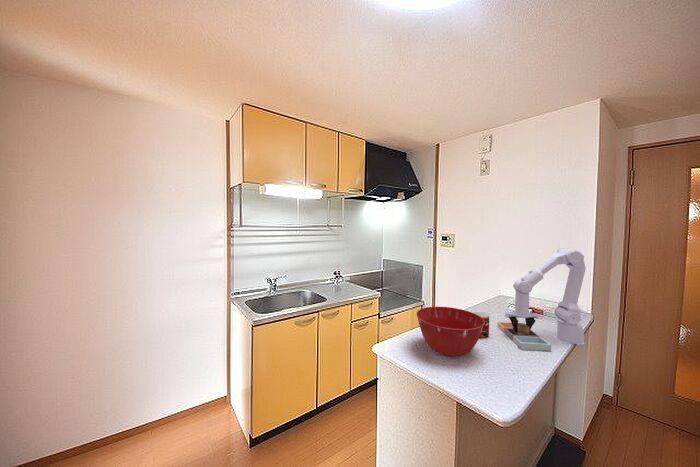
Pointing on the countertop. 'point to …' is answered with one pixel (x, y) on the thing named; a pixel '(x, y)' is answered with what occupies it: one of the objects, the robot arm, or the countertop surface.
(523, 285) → the robot arm
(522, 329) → the letter cube
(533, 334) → the dish charcoal
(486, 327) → the canned food
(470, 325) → the mixing bowl
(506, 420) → the countertop surface
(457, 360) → the countertop surface
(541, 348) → the dish blue
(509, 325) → the dish terracotta
